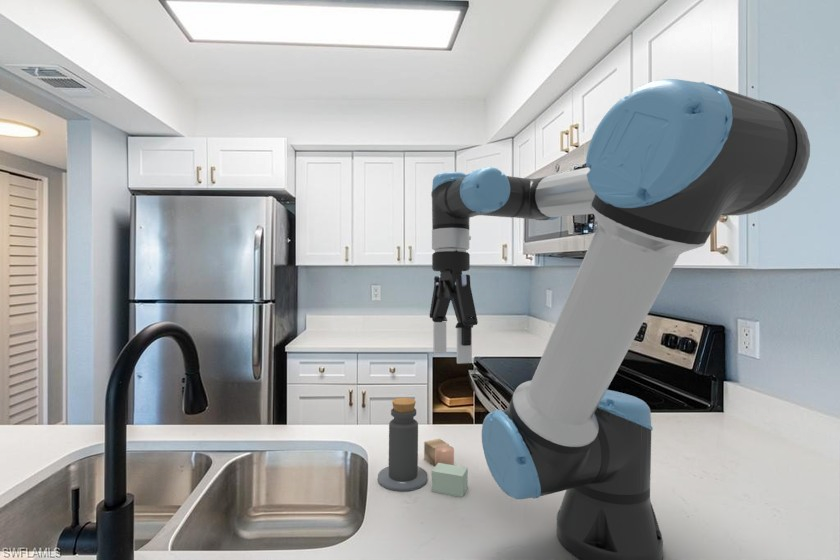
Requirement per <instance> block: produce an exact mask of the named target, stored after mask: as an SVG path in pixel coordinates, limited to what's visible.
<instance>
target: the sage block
mask: <svg viewBox="0 0 840 560" xmlns="http://www.w3.org/2000/svg"><path fill="white" fill-rule="evenodd" d="M468 469H469V467H467V466H460V465H455V464H454V465H449V464H443V463H438V464H437V465H436V466H434V468H433V469H432V470H431V492H434V493H438V494H439V493H440V494H445V495H449V496H455V497H459V498H463V497H464V495H465V493H466V491H467V489H468V486H469V485H468V484H469V483H468V481H469V478H468V475H469V474H468V472H469V471H468Z"/></svg>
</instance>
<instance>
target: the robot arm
mask: <svg viewBox="0 0 840 560" xmlns="http://www.w3.org/2000/svg"><path fill="white" fill-rule="evenodd" d="M810 156H811V143H810V139H809V136H808V132H807V130H806V128H805V127H804V125H803V123H802V121H801V120H800V119H799V118H798V117H797V116H796V115H795V114H794V113H792V112H791V111H789V110H788V109H786V108H784V107H782V105H779V104H776V103H772V102H769V101H765V100H760V99H757V98H752V97H750V96H746V95H743V94H740V93H738V92H735V91H732V90H729V89H726V88H723V87H719V86H717V85H714V84H708V83H706V82H704V81H699V82H697V81H690V80H684V79H676V78H663V79H658V80H654V81H650V82H648V83H645V84H642V85H640V86H639V87H636V88H634V90H633V91H632V92H631V93H630V94H628V95H625V96H623V97H621V98H619V100H618V101H616V103H615V104H613V105H612V106H611V107H610V109H609V110H608V111H607V112H605V115H604V116H603V117H602V119H601V120H600V122H599V124H598V125H597V127H596V128H595V131H594V132H593V135H592V137H591V139H590V142H589V145H588V149H587V153H586V158H585V167H583V168H578V169H573V170H570V171H565V172H560V173H556V174H551V175H548V176H543V177H537V178H527V177H518V176H511V175H506V174H505V173H504V172H502V171H501V170H499V168H496V167H492V166H488V167H487V166H486V167H483V168H478V169H476V170H472V171H471V172H469V173H467V174H466V173H465V172H460V171H445V172H440V173H437V174H436V175H435V176H433V179H432V184H431V185H432V190H431V193H430V194H431V220H432V222H431V223H432V224H431V225H432V226H431V227H432V230H431V249H432V250H433V251H434V252H433V253H432V255H431V259H432V260H431V262H432V264H431V268H432V271H434V272H440V274H439V275H435V276H434V278H433V280H434V281H433V291H432V297H431V304H430V310H429V318H430V319H431V320H432V322H433V323H432V324H433V325H432V326H433V327H432V328H433V330H432V332H433V333H432V334H433V336H432V337H433V338H432V339H433V342H432V343H433V344H432V345H433V346H432V347H433V352H432V353H434V354H437V353H439V354H441V353H447V322H448V318H447V313H448V309H449V306H450V303H451V304H452V307H453V312H454V314H455V317H456V321H457V323H456V325H455V326H454V327H455V328H456V364H460V365H461V364H472V363H473V360H472V359H473V358H472V357H473V356H472V355H473V353H472V352H473V351H472V350H473V347H472V346H473V341H472V340H473V339H472V334H473V333H472V330H473V329H472V328H474V326H477V325H478V323H479V322H478V317H477V312H476V307H475V303H474V297H473V293H472V287H471V277H470V274H463V272H469V270H470V268H471V266H470V265H471V263H470V254H469V252H468V250H469V249H470V241H471V240H472V236H471V235H470V218H473V217H476V216H477V217H478V216H487V217H499V218H511V219H512V218H515V219H526V220H536V221H555V220H557V219H559V218H560V217H569V216H572V217H573V216H582V215H594V217H595V219H596V223H597V227H596V230H595V231H594V234H593V236H592V239H591V241H590V243H589V246H588V248H587V250H586V253H585V255H584V258H583V259H582V262H581V264H580V267H579V269H578V271H577V274H576V276H575V278H574V281H573V283H572V285H571V288H570V290H569V292H568V295H567V296H566V297H567V298H566V299H565V302H564V304H563V306H562V309H561V311H560V313H559V315H558V318H557V321H556V323H555V326H554V327H553V330H552V332H551V334H550V336H549V339H548V341H547V344H546V346H545V349H544V351H543V353H542V355H541V357H540V360H539V363H538V365H537V368H536V369H535V372H534V374H533V376H532V379H531V380H527V381H525V382H524V381H523V382H522V383H520V384H519V385H518V386H517V387H515V388H516V389H515V390H514V392H513V394H512V397H511V399H510V401H509V404H508V406H507V408H506V409H504V410H501V409H494V411H491V412H490V413H488V414H487V415H485V418H484V419H483V422H482V427H481V444H482V449H483V454H484V458H485V461H486V465H487V467H488V469H489V472H490V474H491V476H492V477H493V479H494V481H495V483H496V485H498V487H499V488H500V490H502V492H503V493H504V494H505V495H507V496H508V497H510V498H512V499H515V500H526V499H531V498H532V499H538V498H540V497H543V496H547V495H552V494H555V493H558V492H563V491H565V492H564V496H563V498H562V500H561V501H562V502H561V505H560V508H559V509H558V511H557V513H556V525H555V526H556V535H557V539H558V540H559V541H560V543H561V545H562V546H563V547H564V548H565V549H566V550H567V551H569V552H570V553H571V554H572V555H574V556H575V557H576V558H578V559H580V560H663V558H664V539H663V535H662V533H661V532H662V531H661V530H660V526H659V522H658V520H657V517H656V514H655V509H654V507H653V504H652V502H651V470H652V469H651V467H652V465H651V464H652V463H651V462H652V431H653V430H654V429H653V426H652V416H651V414H652V413H651V408H650V406H649V405H648V404H647V402H645V401H644V400H643V399H641V398H638V397H637V396H634V395H630V394H627V393H625V392H624V393H623V392H619V391H616V390H611V389H609V386H610V385H611V382H612V381H613V379H614V377H615V376H616V374H617V372H618V370H619V368H620V366H621V364H622V362H623V361H624V358H625V357H626V355H627V354H628V351H629V349H630V348H631V345H632V344H633V342H634V341H635V339H636V336H637V335H638V333H639V332H640V328H642V326H643V323H644V321H645V320H646V318H647V316H648V315H649V313H650V311H651V309H652V307H653V305H654V303H655V301H656V299H657V297H658V296H659V293H660V292H661V290H662V289H663V286H664V284H665V282H666V280H667V279H668V277H669V275H670V273H671V271H672V270H673V268H674V266H675V264H676V263H677V261H678V258H679V257H680V255H682V254H683V253H686V252H689V251H693V250H694V249H698V248H701V247H703V246H705V244H706V243H707V240H708V239H709V237H710V236H711V233H712V232H713V230H714V228H715V227H716V225H717V223H718V222H719V220H720V218H721V216H723V217H724V216H728V217H729V216H731V217H733V216H742V215H743V216H744V215H749V214H754V213H757V212H760V211H763V210H765V209H767V208H770V207H771V206H773V205H775V204H777V203H778V202H780V201H781V200H782V199H784V198H785V197H787V196H788V195H789V193H791V192H792V191H793V190H794V189H795V188H796V187H797V185H798V184H799V182H800V180H801V179H802V177H804V175H805V173H806V170H807V167H808V163H809V159H810Z"/></svg>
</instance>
